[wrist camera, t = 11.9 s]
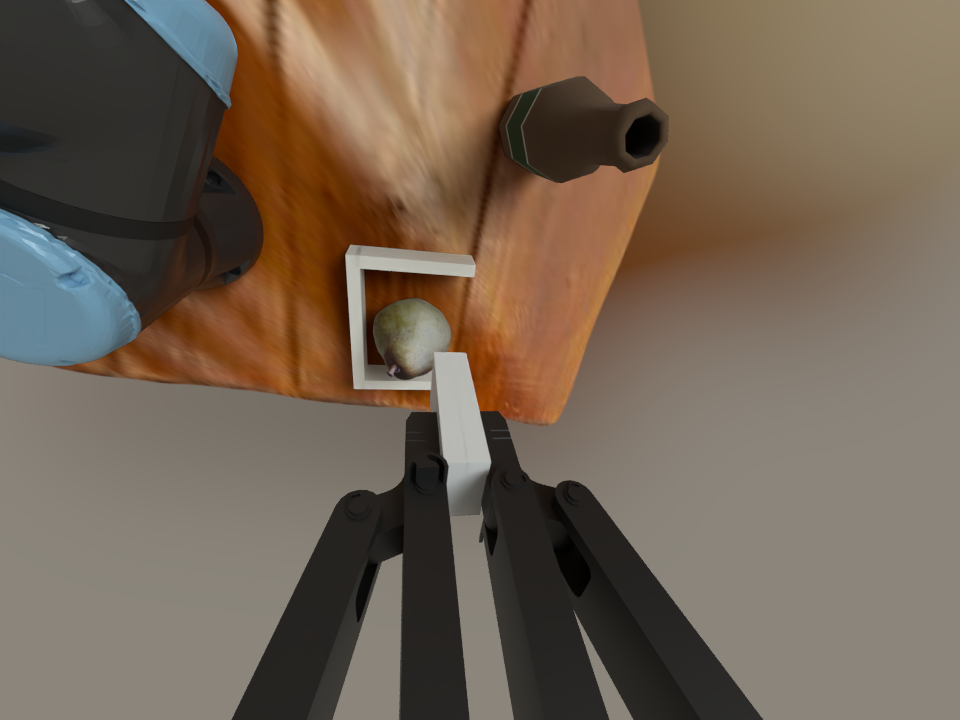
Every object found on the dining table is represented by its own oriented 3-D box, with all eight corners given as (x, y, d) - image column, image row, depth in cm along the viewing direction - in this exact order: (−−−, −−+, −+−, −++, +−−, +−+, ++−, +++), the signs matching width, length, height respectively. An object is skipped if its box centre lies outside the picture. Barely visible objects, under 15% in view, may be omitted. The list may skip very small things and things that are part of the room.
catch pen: (357, 372, 54) (353, 388, 51) (350, 244, 44) (345, 254, 41) (457, 374, 57) (459, 390, 54) (471, 255, 47) (475, 265, 44)
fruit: (362, 316, 49) (349, 364, 39) (412, 271, 47) (412, 311, 37) (415, 361, 55) (415, 413, 45) (462, 323, 52) (474, 369, 42)
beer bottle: (555, 173, 43) (675, 215, 23) (492, 165, 42) (563, 203, 22) (572, 93, 39) (735, 63, 19) (502, 81, 38) (601, 34, 18)
